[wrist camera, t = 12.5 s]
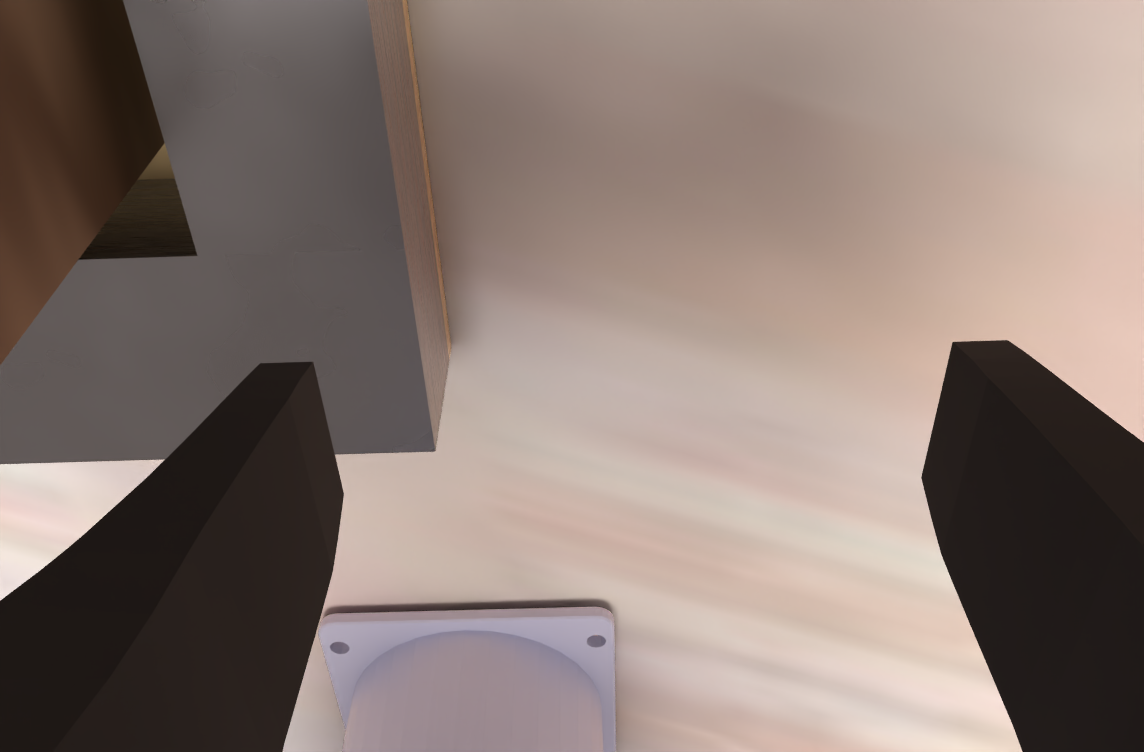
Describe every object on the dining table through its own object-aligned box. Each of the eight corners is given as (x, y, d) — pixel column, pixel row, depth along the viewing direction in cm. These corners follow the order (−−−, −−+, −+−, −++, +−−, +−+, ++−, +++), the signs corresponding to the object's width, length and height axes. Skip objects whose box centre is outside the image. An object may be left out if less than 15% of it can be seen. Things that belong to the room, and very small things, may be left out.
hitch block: (451, 346, 23) (435, 451, 20) (-130, 364, 23) (-227, 470, 20) (333, -569, 14) (274, -613, 11) (-621, -525, 14) (-919, -557, 11)
